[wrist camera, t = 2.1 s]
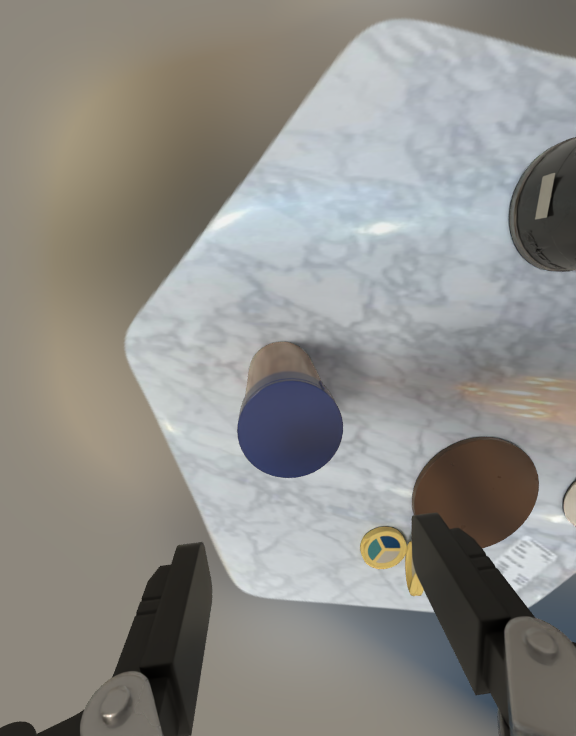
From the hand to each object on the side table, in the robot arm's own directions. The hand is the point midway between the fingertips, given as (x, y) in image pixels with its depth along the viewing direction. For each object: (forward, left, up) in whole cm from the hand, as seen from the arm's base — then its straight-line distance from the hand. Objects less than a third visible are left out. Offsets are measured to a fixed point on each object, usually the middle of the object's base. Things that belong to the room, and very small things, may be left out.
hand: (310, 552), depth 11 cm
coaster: (-2, +22, -20) cm, 30 cm away
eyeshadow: (+7, +19, -20) cm, 29 cm away
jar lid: (0, 0, -9) cm, 9 cm away
